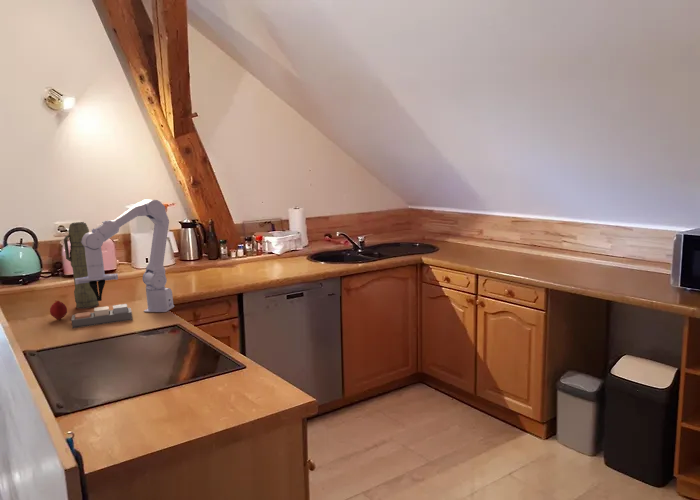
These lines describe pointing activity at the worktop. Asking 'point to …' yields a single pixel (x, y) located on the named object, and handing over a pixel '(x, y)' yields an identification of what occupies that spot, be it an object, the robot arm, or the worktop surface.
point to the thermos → (79, 265)
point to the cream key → (101, 311)
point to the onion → (58, 310)
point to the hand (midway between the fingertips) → (99, 300)
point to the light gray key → (120, 308)
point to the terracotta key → (83, 315)
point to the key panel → (101, 319)
